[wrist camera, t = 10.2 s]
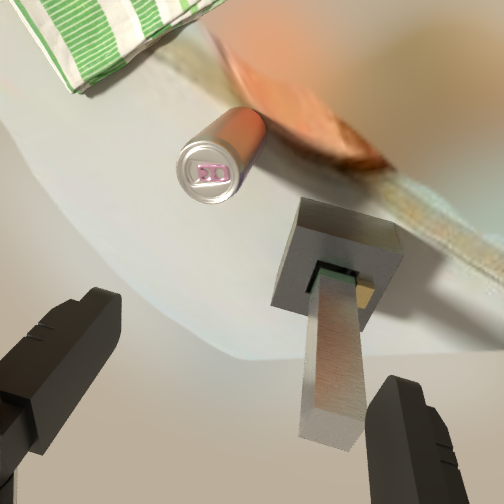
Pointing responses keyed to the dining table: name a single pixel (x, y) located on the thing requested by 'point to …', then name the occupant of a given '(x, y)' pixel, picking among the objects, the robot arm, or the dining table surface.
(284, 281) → the base
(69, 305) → the robot arm
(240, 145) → the beverage can
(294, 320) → the dining table surface
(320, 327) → the column
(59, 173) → the dining table surface
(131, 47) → the dish towel
